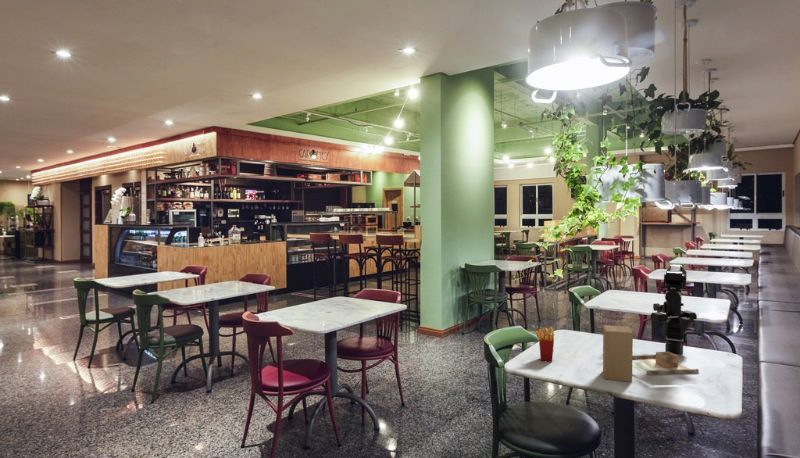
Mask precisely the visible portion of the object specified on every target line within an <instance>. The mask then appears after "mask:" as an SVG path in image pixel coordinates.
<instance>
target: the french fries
mask: <svg viewBox="0 0 800 458" xmlns="http://www.w3.org/2000/svg"><path fill="white" fill-rule="evenodd" d="M549 329H550V331H551V332H549ZM549 329H548V328H547V327H544V328H541V329H540V328H539V329H537V330H536V331H535V334H536V336H537V337H538V343H539V354H540V361H541V362H543V361H546V362H547V363H552V362H553V355H554V346H555V345H554V343H555V338H554V336H555V334H554V333H555V331H554V329H553V326H550V327H549Z"/></svg>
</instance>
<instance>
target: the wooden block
mask: <svg viewBox="0 0 800 458" xmlns="http://www.w3.org/2000/svg"><path fill="white" fill-rule="evenodd" d="M602 327H603V328H602V332H603V333H602V372H603V375H604V379H605V380H611V381H620V382H621V381H622V382H630V383H631V382H633V366H632V363H633V359H632V356H633V350H634V349H633V346H634V345H633V342H634V341H633V340H634V334H633V331H632V329H631V328H630V327H629V326H626V325H625V326H623V325H621V326H620V325H608V324H607V325H606V324H604V325H603V326H602Z"/></svg>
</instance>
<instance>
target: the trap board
mask: <svg viewBox="0 0 800 458" xmlns="http://www.w3.org/2000/svg"><path fill="white" fill-rule="evenodd" d="M632 360H637V362H635V361H634V362H632V368H635V369H637V370H638V371H641V372H645V371H646V375H647V376H662V375H684V374H687V375H688V374H699V370H700V369H699V368H690V367H687V366H686V365H683V364H681V363H679V362H678V367H677V368H664V367H662V366H660V365H658V364H656V353H655V354H634V355H633V356H632Z"/></svg>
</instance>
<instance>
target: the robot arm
mask: <svg viewBox="0 0 800 458" xmlns="http://www.w3.org/2000/svg"><path fill="white" fill-rule="evenodd" d="M687 273H688V272H687V270H685V269H684V268H683V265H682V264H669V267H668V268H667V269H666V271H665V273H664V275H663V285H662V286H663V289H666V290H665V291H666V292H665V295H664V300H665V301H664V302H663V304H660V303H653V304H652V308H653V309H652V310H653V311H655V312H651V313H650V320H653V321H654V322H656V323H657V324H658V327H659V329H660V332H661V334H662V336H663V338H664V339H663V340H664V342H666V343H665V346H664V347H665V348H664V349H665V350H664V352H671V353H673V354H675V355H683V354H684V344H687V343H688V334H687V333H686V332H687V330H688V329H689V327H690V326H691V324H692V323H693V322H695V320H698V319H697V318H698V315H697V313H696V312H694V311H691V310H682V307H684V303H683V302H682V292H683V290H684V289H685V288H686V287H687V279H688V278H687Z"/></svg>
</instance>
